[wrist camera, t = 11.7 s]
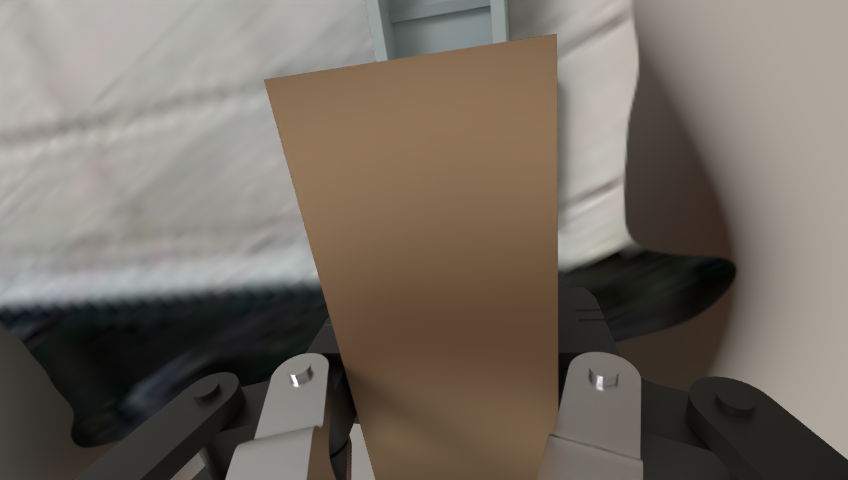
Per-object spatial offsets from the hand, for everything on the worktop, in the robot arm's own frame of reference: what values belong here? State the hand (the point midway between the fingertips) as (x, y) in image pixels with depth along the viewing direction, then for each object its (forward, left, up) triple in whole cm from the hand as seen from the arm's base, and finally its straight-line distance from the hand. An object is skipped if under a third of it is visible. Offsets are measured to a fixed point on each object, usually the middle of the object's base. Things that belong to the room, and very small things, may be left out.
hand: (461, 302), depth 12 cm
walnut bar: (-2, -1, 0) cm, 2 cm away
